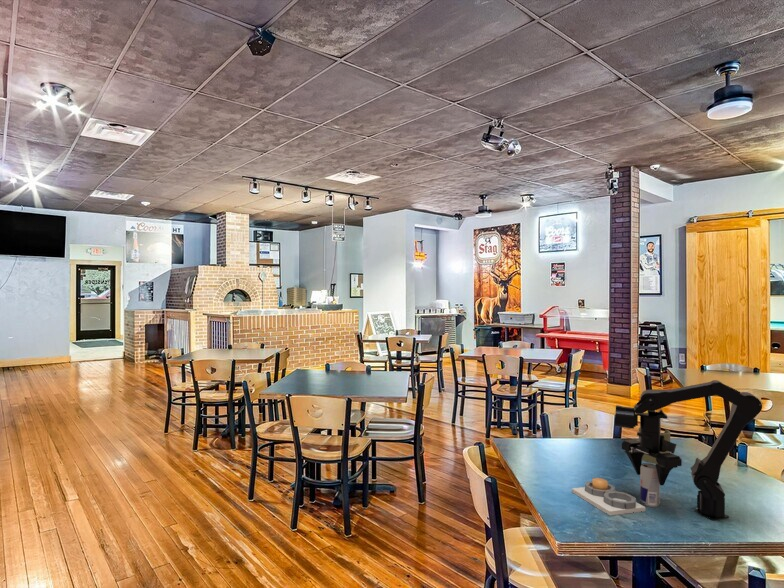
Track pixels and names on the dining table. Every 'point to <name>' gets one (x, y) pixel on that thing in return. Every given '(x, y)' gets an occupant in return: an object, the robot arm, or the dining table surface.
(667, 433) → the piston
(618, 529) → the dining table surface
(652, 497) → the energy drink
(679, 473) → the dining table surface
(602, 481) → the housing
